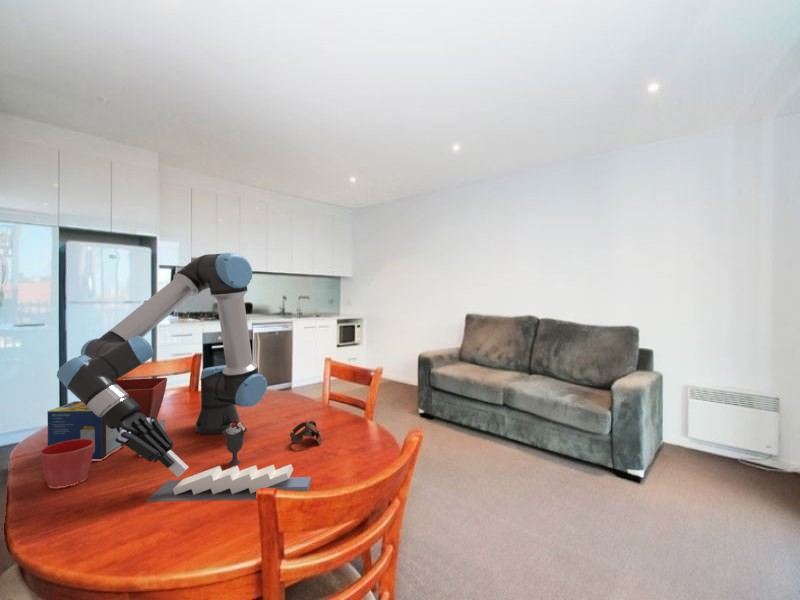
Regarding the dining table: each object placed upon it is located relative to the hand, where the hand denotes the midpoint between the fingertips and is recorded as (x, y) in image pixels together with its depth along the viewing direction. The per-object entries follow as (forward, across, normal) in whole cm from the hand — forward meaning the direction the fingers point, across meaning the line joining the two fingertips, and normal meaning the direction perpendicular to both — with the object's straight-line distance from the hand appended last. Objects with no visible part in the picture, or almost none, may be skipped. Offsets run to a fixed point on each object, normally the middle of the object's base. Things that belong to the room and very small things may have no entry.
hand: (183, 472), depth 95 cm
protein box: (-25, -23, -33) cm, 47 cm away
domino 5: (+15, 0, +10) cm, 18 cm away
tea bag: (-12, -24, -19) cm, 33 cm away
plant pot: (-26, -45, -33) cm, 62 cm away
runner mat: (+10, 0, +3) cm, 11 cm away
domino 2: (+5, 0, 0) cm, 5 cm away
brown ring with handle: (+22, -31, +14) cm, 40 cm away
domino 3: (+9, 0, +3) cm, 9 cm away
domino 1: (+2, 0, -3) cm, 4 cm away
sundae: (+9, -15, +1) cm, 17 cm away
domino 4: (+12, 0, +6) cm, 13 cm away
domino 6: (+18, 0, +13) cm, 22 cm away
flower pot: (-20, -6, -27) cm, 34 cm away
